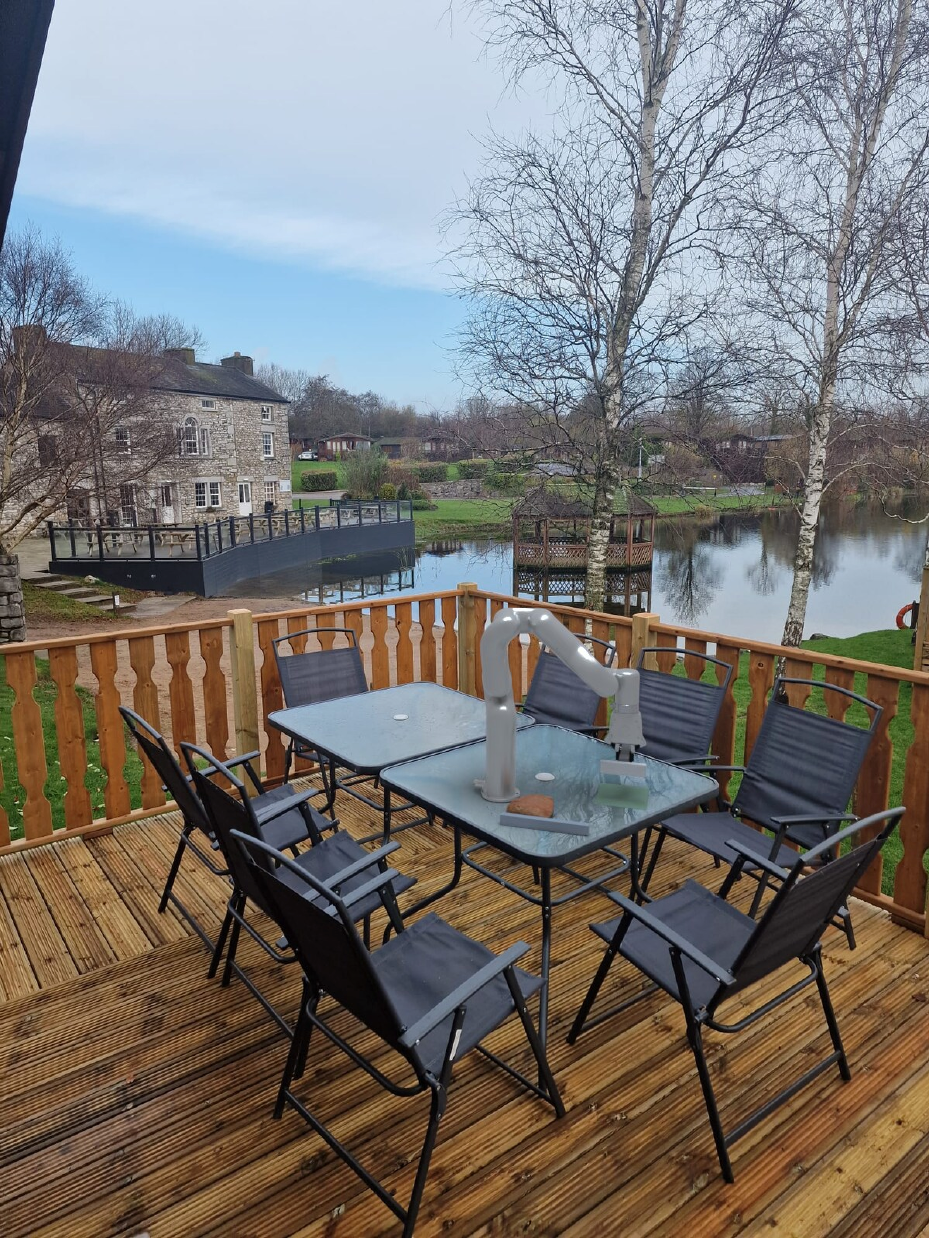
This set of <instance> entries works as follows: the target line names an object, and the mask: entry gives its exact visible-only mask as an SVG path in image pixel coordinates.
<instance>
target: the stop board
mask: <svg viewBox="0 0 929 1238" xmlns="http://www.w3.org/2000/svg"><path fill="white" fill-rule="evenodd" d="M499 824H500V825H503V826H508V827H509V826H510V827H517V828H525V829H532V830H540V831H548V832H555V833H562V834H569V835H570V834H571V835H577V836H578V835H579V836H584V835H588V836H589V835H590V822H581V821H575V820H574V821H573V820H566V819H558V818H553V817H551V818H544V817H536V816H528V815H520V814H513V813H506V811H505V812H503V811H501V813H500V814H499Z"/></svg>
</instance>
